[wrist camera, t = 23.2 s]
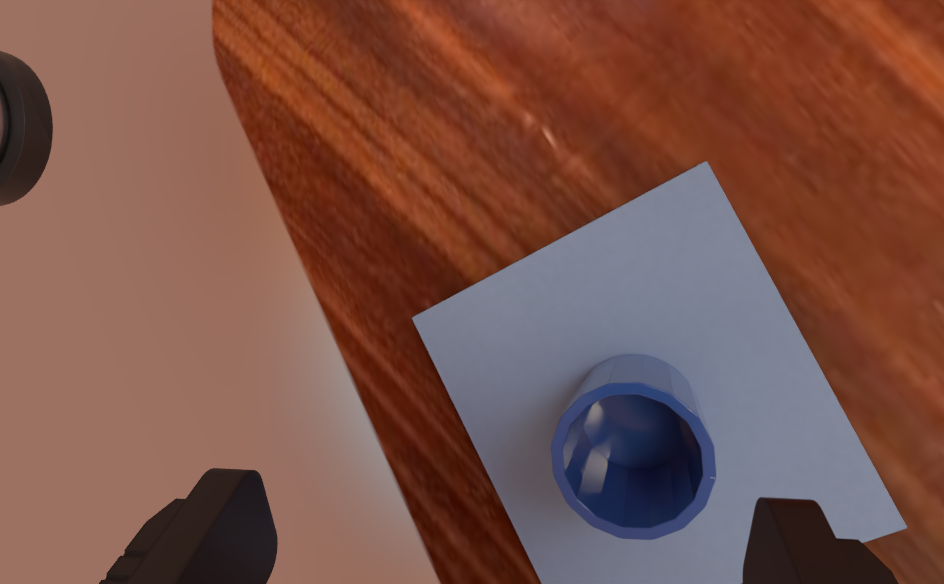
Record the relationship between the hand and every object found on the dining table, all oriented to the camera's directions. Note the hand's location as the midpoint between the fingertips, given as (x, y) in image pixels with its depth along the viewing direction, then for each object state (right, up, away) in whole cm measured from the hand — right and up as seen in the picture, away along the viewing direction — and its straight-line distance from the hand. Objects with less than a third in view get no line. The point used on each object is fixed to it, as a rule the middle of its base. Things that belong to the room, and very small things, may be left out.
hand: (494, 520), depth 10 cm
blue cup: (+8, -3, +22) cm, 24 cm away
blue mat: (+8, -3, +23) cm, 25 cm away
